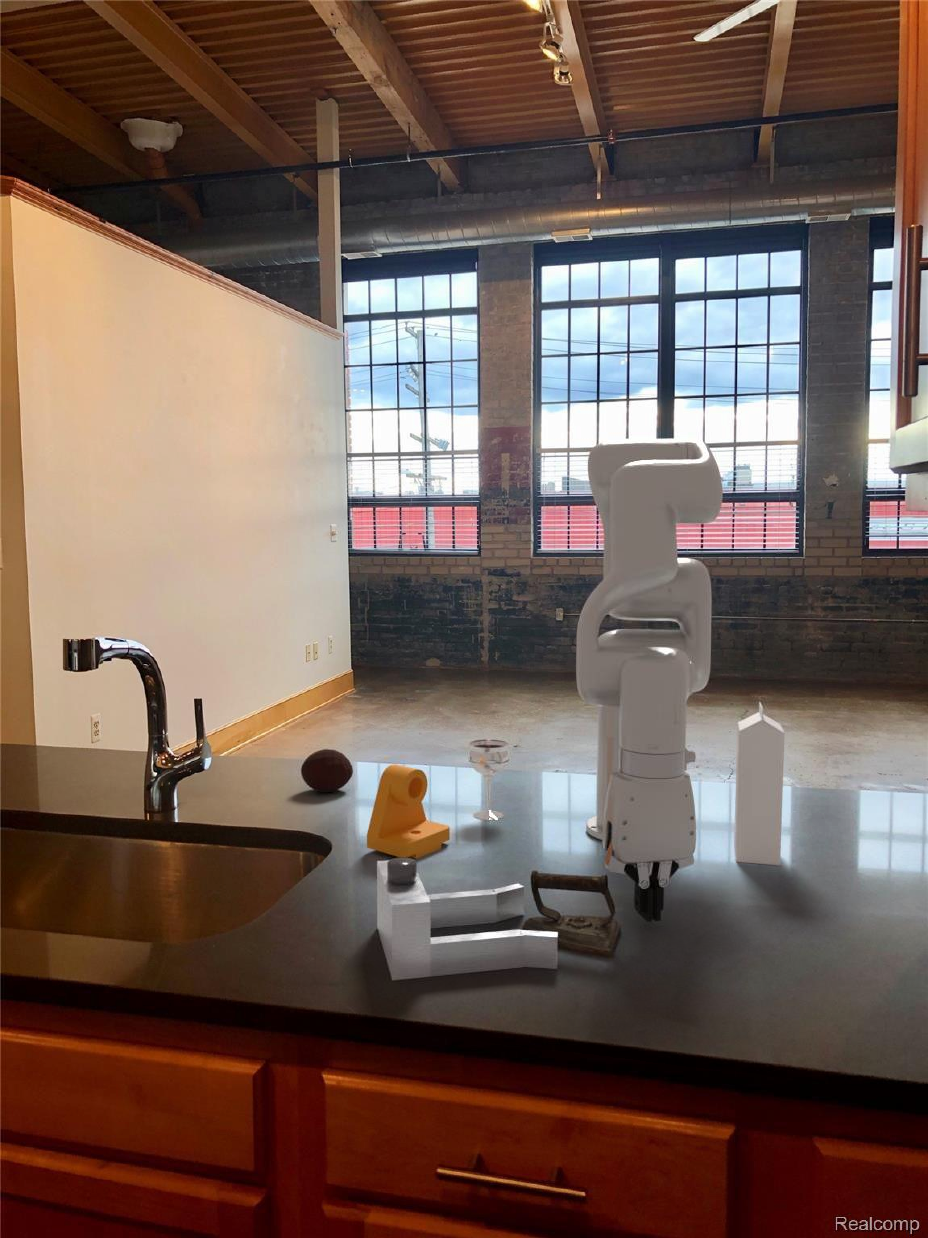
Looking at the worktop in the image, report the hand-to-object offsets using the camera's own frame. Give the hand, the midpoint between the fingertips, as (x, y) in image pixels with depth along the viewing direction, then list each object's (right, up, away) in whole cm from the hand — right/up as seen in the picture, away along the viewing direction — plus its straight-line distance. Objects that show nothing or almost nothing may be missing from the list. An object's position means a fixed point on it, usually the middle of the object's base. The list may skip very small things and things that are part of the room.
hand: (648, 916), depth 106 cm
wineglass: (-18, +2, +43) cm, 47 cm away
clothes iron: (-10, -2, -2) cm, 10 cm away
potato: (-46, +3, +57) cm, 74 cm away
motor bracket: (-22, -2, -5) cm, 22 cm away
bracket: (-29, +1, +27) cm, 40 cm away
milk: (+20, 0, +24) cm, 31 cm away
